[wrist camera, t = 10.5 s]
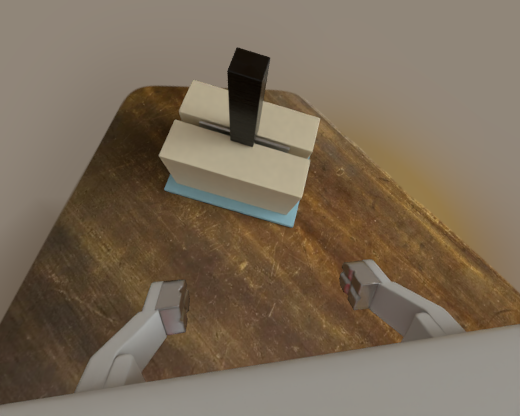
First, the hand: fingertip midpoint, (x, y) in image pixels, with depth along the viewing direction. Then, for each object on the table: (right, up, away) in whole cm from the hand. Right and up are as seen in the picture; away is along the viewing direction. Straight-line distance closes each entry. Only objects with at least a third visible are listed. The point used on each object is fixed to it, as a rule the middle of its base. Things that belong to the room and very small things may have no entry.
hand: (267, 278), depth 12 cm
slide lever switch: (-2, +8, +14) cm, 16 cm away
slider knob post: (-2, +8, +13) cm, 16 cm away
